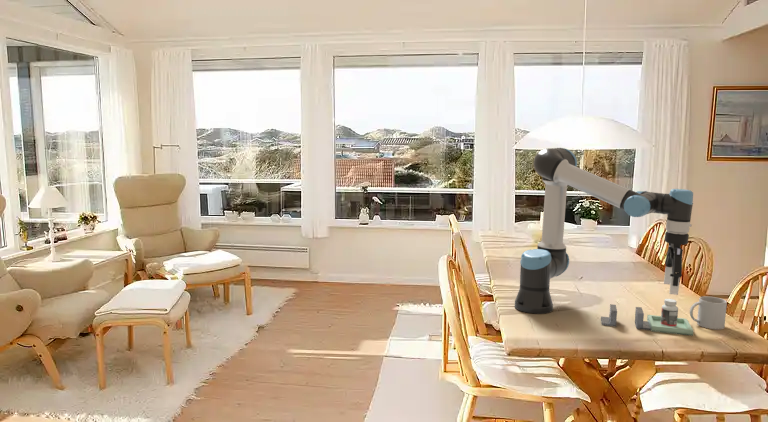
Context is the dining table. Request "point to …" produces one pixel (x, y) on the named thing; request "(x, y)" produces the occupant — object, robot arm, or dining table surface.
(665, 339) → the dining table surface
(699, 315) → the mug
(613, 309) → the bookends
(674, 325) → the pill bottle
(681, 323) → the tray
